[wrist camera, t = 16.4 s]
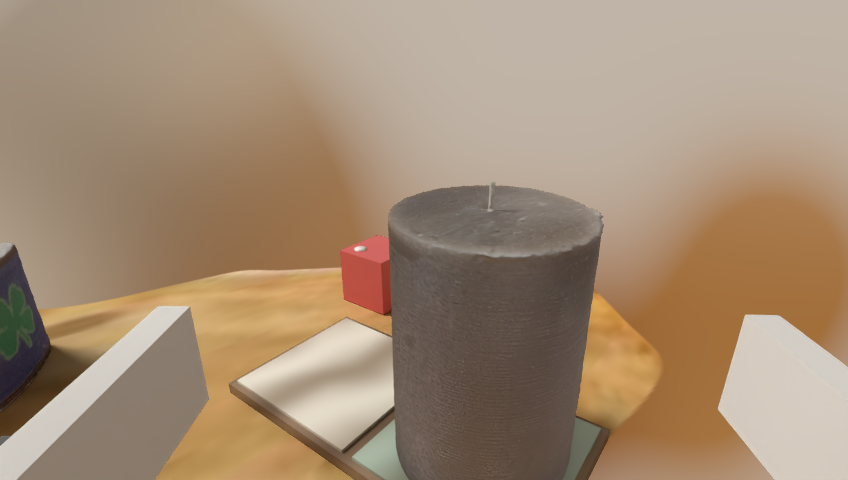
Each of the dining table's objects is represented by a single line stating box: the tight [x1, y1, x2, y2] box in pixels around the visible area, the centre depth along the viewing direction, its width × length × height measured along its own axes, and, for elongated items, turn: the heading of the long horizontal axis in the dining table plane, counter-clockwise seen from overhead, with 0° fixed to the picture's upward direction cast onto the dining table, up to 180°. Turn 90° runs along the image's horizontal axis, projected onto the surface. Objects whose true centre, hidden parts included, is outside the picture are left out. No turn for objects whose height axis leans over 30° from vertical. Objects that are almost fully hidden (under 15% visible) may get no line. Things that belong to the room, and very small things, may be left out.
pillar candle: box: [388, 182, 604, 480], centre depth 23 cm, size 10×10×15 cm
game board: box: [229, 317, 610, 480], centre depth 29 cm, size 22×11×1 cm, turn 53°
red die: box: [340, 235, 392, 315], centre depth 44 cm, size 5×5×5 cm
